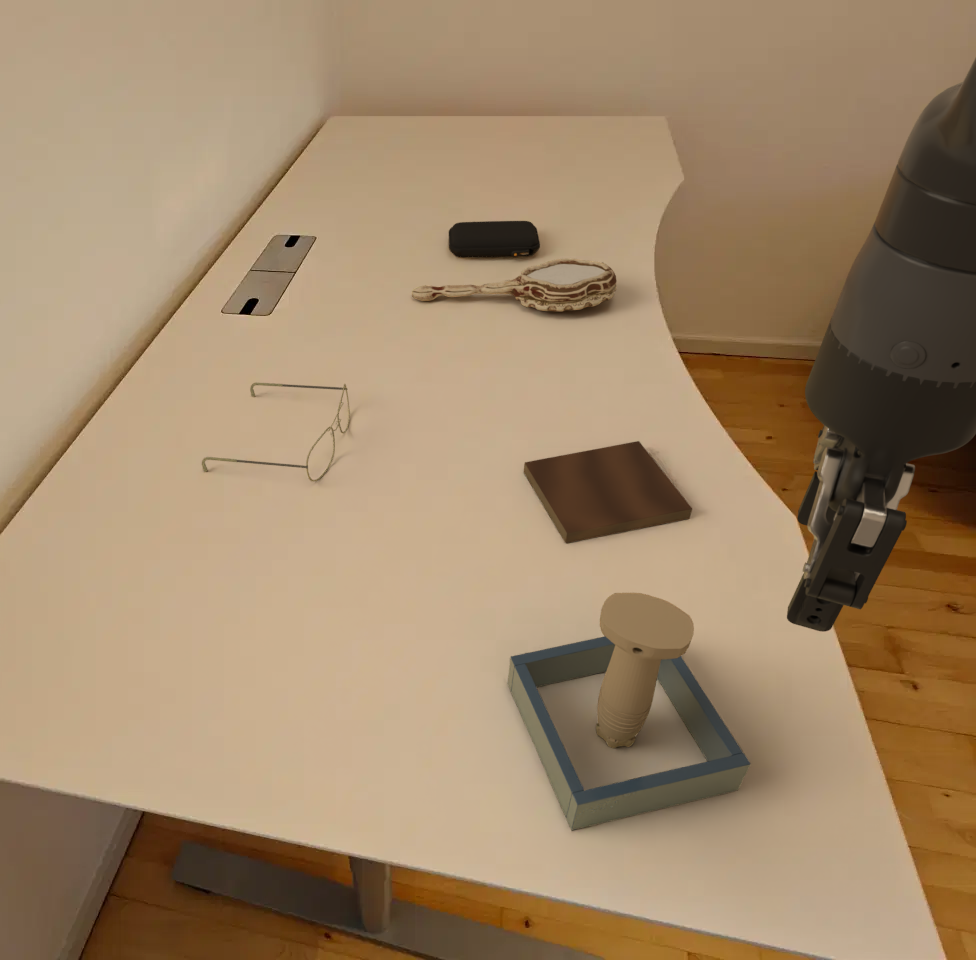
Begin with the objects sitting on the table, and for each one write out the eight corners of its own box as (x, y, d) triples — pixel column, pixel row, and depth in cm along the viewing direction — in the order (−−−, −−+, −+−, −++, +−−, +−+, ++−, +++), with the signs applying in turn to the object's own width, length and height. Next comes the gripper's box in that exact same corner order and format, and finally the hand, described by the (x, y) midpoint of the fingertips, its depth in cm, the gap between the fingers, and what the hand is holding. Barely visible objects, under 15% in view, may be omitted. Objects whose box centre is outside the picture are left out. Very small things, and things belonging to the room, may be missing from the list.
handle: (584, 698, 74) (610, 583, 64) (660, 725, 71) (699, 610, 61) (569, 742, 70) (594, 629, 61) (648, 772, 68) (687, 659, 58)
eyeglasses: (320, 490, 97) (317, 456, 93) (202, 471, 101) (195, 439, 97) (358, 409, 108) (356, 377, 105) (251, 395, 112) (246, 364, 109)
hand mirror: (414, 265, 132) (614, 251, 125) (417, 302, 134) (612, 289, 128) (406, 284, 122) (621, 269, 116) (409, 323, 125) (619, 311, 118)
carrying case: (448, 264, 136) (541, 263, 135) (449, 247, 134) (542, 245, 133) (448, 236, 144) (535, 234, 143) (448, 219, 142) (536, 217, 141)
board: (636, 450, 98) (638, 440, 97) (689, 518, 89) (692, 508, 88) (523, 472, 97) (524, 462, 96) (565, 543, 88) (567, 533, 87)
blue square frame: (652, 651, 77) (660, 624, 74) (738, 790, 66) (751, 764, 64) (507, 683, 75) (510, 656, 73) (571, 830, 65) (577, 805, 62)
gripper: (1040, 439, 32) (883, 686, 43) (1005, 274, 42) (883, 510, 52) (825, 397, 35) (727, 639, 46) (838, 251, 45) (754, 480, 55)
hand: (811, 570), depth 49 cm, fingers open, 8 cm apart
